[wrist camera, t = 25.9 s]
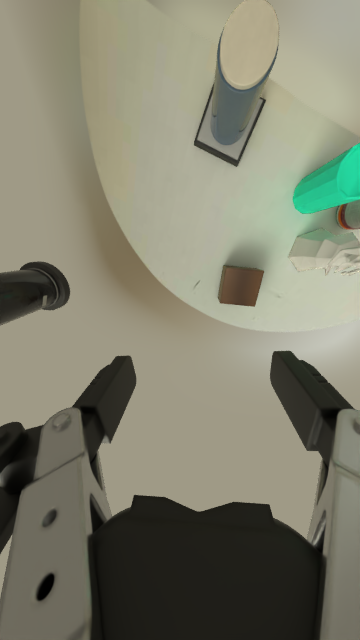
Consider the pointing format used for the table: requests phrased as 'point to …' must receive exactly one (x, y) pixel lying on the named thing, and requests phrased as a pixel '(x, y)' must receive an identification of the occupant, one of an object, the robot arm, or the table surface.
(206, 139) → the scale
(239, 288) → the block
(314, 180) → the candle
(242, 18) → the canister
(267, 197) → the table surface
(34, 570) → the robot arm
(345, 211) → the pill bottle
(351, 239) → the figurine
